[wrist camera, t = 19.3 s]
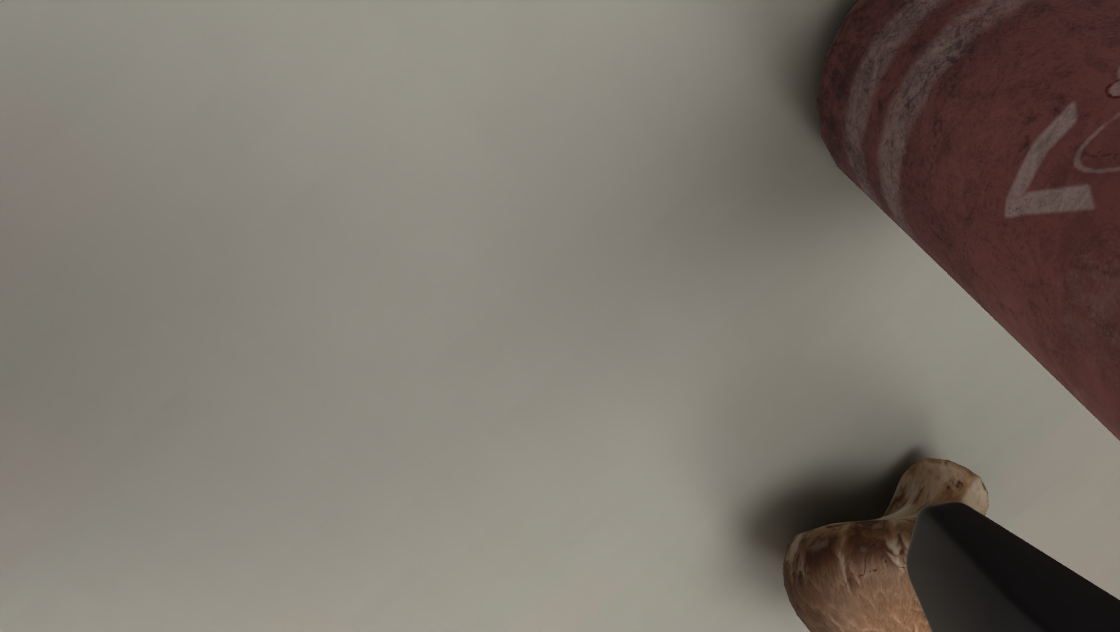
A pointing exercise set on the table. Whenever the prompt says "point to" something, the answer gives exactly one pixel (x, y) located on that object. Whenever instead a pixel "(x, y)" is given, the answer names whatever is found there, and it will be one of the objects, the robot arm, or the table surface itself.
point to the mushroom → (873, 557)
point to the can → (997, 161)
